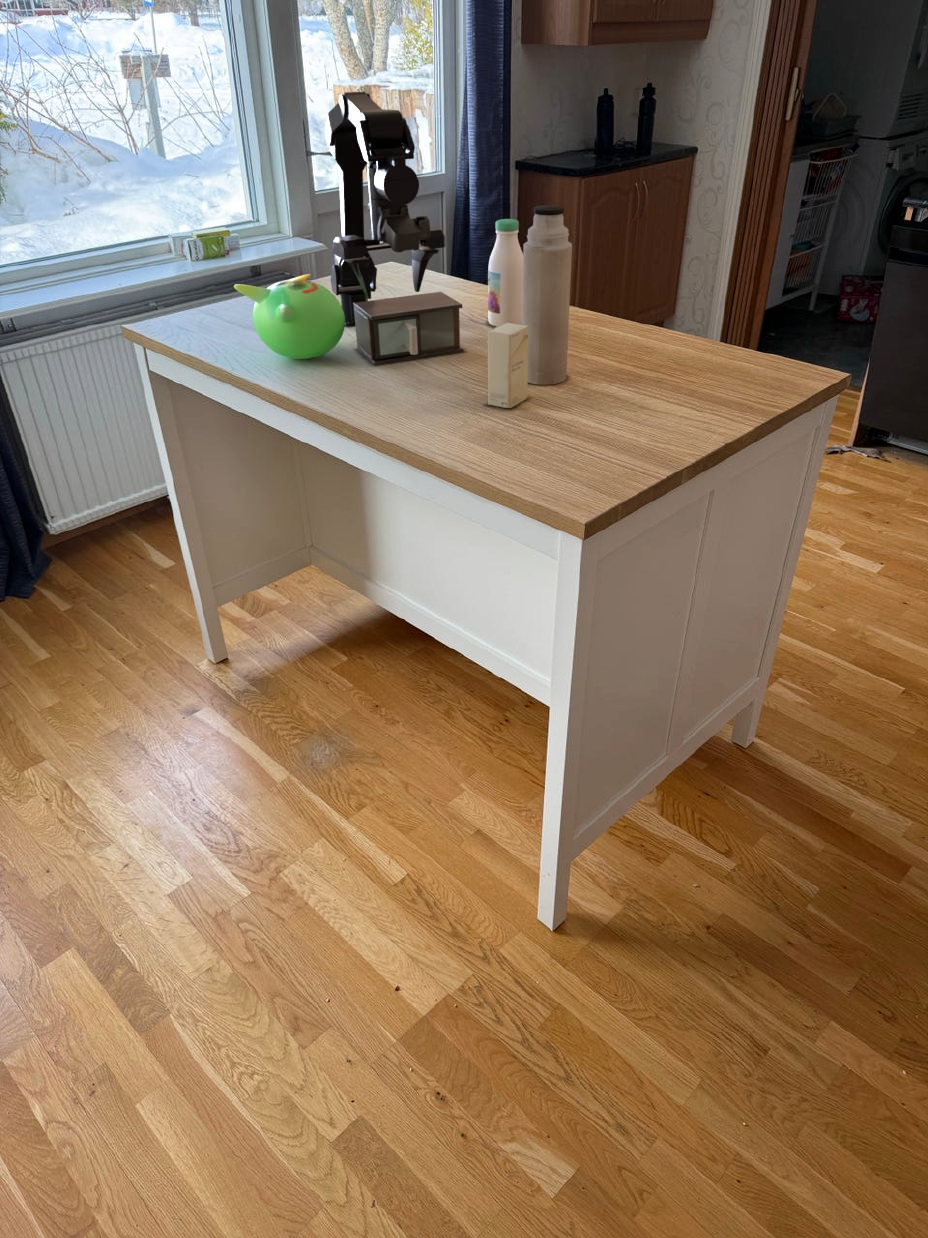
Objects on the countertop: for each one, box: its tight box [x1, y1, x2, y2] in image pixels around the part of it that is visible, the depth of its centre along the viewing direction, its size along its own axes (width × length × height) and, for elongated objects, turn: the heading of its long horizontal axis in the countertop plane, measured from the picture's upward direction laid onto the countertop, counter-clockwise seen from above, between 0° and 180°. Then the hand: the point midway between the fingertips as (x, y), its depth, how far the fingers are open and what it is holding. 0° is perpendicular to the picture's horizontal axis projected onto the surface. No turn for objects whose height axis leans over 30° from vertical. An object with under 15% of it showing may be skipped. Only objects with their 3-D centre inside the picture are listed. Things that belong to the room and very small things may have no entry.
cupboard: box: [353, 291, 464, 366], centre depth 171 cm, size 11×18×9 cm, turn 113°
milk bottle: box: [487, 218, 523, 327], centre depth 183 cm, size 8×8×20 cm
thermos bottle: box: [521, 204, 573, 386], centre depth 152 cm, size 8×8×28 cm
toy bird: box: [233, 273, 346, 360], centre depth 168 cm, size 18×17×15 cm
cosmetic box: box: [487, 323, 528, 409], centre depth 146 cm, size 6×4×12 cm
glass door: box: [373, 314, 422, 359], centre depth 164 cm, size 6×9×7 cm, turn 113°
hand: (393, 294), depth 157 cm, fingers open, 9 cm apart
